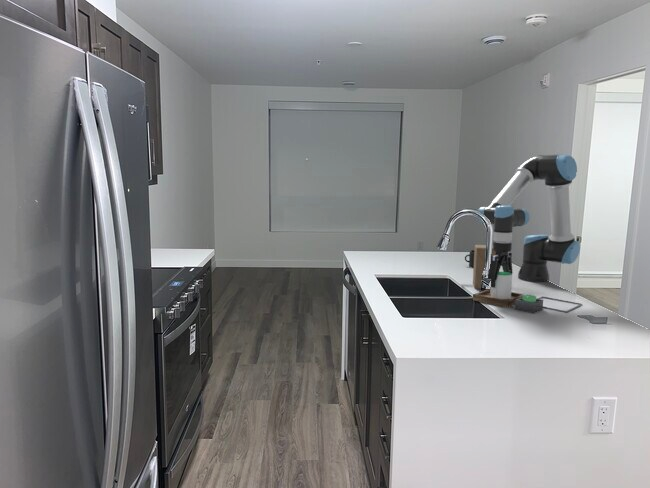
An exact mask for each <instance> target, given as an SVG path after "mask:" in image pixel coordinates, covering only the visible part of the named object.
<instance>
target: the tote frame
mask: <svg viewBox="0 0 650 488" xmlns="http://www.w3.org/2000/svg"><path fill="white" fill-rule="evenodd" d="M543 298H544V299H546V300H547V299H548V300H553V301H558V302H564V303H568V304H574V305H576V306H573V307H571V308H570V309H567V310H562V309H556V308H552V307H547V306H543V309H546V310H551V311H557V312H561V313H569V312H571V311H573V310H575V309H577V308H580V307H581V306H583V303H580V302H574V301H569V300H563V299H559V298H553V297H548V296H540V297H538V298H537V297H536V299H540V300H542V299H543Z"/></svg>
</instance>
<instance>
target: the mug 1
mask: <svg viewBox="0 0 650 488" xmlns="http://www.w3.org/2000/svg"><path fill="white" fill-rule="evenodd" d="M474 250H475V249H473V250H469V254H466V255H465V256H464V260H465V262H466V263H468V266H469V267H470V268H473V269H474ZM467 258H468V259H469V260H467Z"/></svg>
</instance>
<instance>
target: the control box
mask: <svg viewBox="0 0 650 488" xmlns="http://www.w3.org/2000/svg"><path fill="white" fill-rule="evenodd" d="M543 307H544V299H537V298H536V302H534V303H532V302H527V301H522V297H521V298H519V299H516V300H515V305H514V310H517V311H520V312H526V313H530V314H536V313H539V312H540V311H543V310H544V308H543Z"/></svg>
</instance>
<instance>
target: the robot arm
mask: <svg viewBox="0 0 650 488" xmlns="http://www.w3.org/2000/svg"><path fill="white" fill-rule="evenodd" d="M577 166H578V165H577V163H576V160H575V158H574V157H573V156H571V155H568V154H548V155H547V154H545V155H544V154H543V155H542V154H539V155H535V156H533V157H531V158H528V159H527V160H525V161H524V162H523V163H521V164H520V165H519V166H518V167H517V168H516V169H515V170H514V173H513V174H514V175H513V176H512V177H511V178H510V180H509V181H508V182H507V183H506V184H505V186H504V187H503V188H502V189H501V191H499V193H498V194H497V195H496V196H495V197H494V199H493V200H492V201H491V202H490V203H489V205H488V206H481V207H479V208H478V209H477V212H480V213H481V214H483V215H485V216H486V217H487V218H488V219H489V220H490V222H491V224H490V225H493V234H492V235H493V242H492V245H493V250H494V251H496V254H495V256H491V264H490V269H489V274H488V279H491V287H490V294H492V295H497V283H498V280H496V279H497V276H498V273H499V272H500V271H501V270H500V269H501V268H502V272H509V273H512V274H513V273H514V272H513V262H512V260H513V259H512V255H513V254H512V252H511V251H512V245H513V243H512V242H513V228H514V227H522V226H525V225H527V224H528V223H529V221H530V218H531V217H530V214H529V212H528V211H527V210H526V209H523V208H514V206H512V204H513V203H514V201H515V200H516V199H517V197H519V195H520V194H521V193H522V191H524V189H525V188H526V187H527V186H529V185H531V184H532V183H533V182H534V181H537V180H543V181H544V184H545V186H546V187H547V188H548V195H549V212H550V213H549V215H550V229H551V231H550V232H551V234H550V235H549V234H534V235H532V234H530V235H526V236H525V237H524V240H523V247H522V249H523V251H522V264H521V265H520V267H519V268H520V269H519V271H518V274H517V278H518V279H519V280H523V281H527V282H537V283H538V282H549V281H550V272H549V269H548V262H552V263H558V264H562V265H563V264H566V265H571V264H573V263H575V262H576V260H577V259H578V257H579V255H580V251H581V244H580V242H579V241H577V240H576V239H575V235H574V234H573V233H572V232H571V231H572V230H571V229H572V228H571V209H570V189H569V187H570V185H571V184H572V183H573V180H574V179H575V178H576V177H577V173H578V167H577ZM476 219H477V221H478V222H479V223H483V224H485V223H484V222H483V221H482V220H481V219H479V218H478V217H477V216H476Z"/></svg>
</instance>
